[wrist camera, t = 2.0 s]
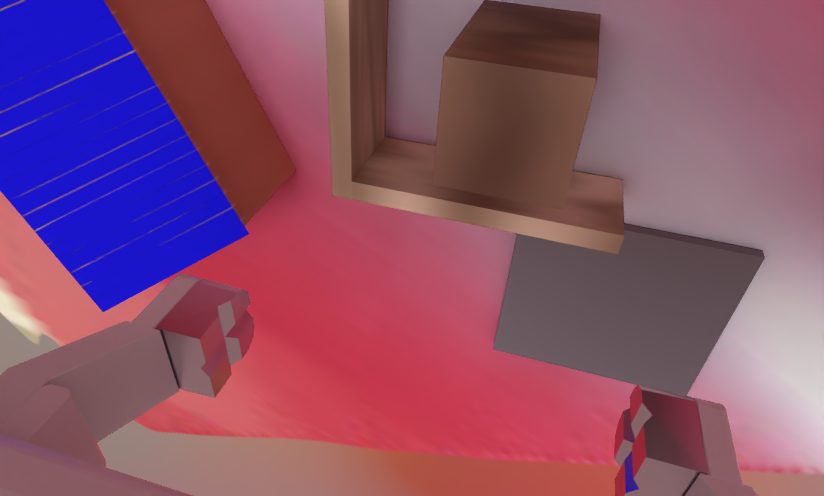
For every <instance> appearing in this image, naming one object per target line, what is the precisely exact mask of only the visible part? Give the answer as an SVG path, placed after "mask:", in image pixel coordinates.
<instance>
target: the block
mask: <svg viewBox="0 0 824 496" xmlns="http://www.w3.org/2000/svg"><path fill="white" fill-rule="evenodd" d="M599 31H600V14H592V13H584V12H576V11H569V10H561V9H553V8H545V7H537V6H530V5H522V4H514V3H506V2H498V1H491V0H485V1H484V2H483V3H482V5H481V6H480V7H479V9H478V10H477V12H476V13H475V14H474V16H473V17H472V18H471V20H470V21H469V22H468V24H467V25H466V26H465V28H464V29H463V31H462V32H461V33H460V35H459V36H458V37H457V39H456V40H455V41H454V43H453V44H452V45H451V47H450V48H449V49H448V51H447V52H446V54H445V55H444V59H443V70H442V81H441V93H440V104H439V115H438V127H437V138H436V149H435V160H434V172H433V183H432V185H436V186H442V187H447V188H452V189H457V190H462V191H467V192H472V193H478V194H483V195H488V196H493V197H498V198H503V199H508V200H514V201H519V202H524V203H529V204H534V205H539V206H545V207H550V208H555V209H560V210H562V209H563V206H564V202H565V198H566V194H567V190H568V187H569V183H570V179H571V175H572V172H573V168H574V164H575V160H576V156H577V153H578V149H579V145H580V141H581V138H582V134H583V130H584V126H585V122H586V119H587V115H588V111H589V107H590V103H591V100H592V96H593V92H594V88H595V85H596V81H597V69H598V50H599Z"/></svg>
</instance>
